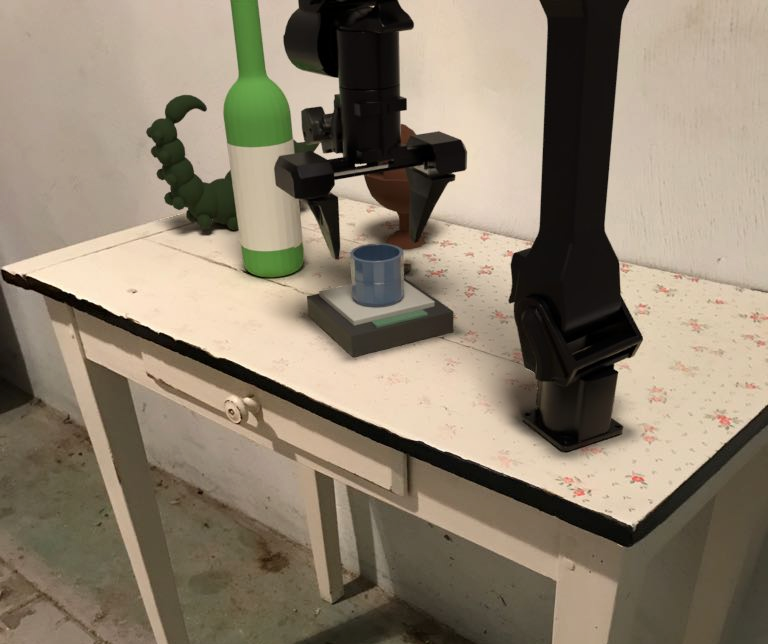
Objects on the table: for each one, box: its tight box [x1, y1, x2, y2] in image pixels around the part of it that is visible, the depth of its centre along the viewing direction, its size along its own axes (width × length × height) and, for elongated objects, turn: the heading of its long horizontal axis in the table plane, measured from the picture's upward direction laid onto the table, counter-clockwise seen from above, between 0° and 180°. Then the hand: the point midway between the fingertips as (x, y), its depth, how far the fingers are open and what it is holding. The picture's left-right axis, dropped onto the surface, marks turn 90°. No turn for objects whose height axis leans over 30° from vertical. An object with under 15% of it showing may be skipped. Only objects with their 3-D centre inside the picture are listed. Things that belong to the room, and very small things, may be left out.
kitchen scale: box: [306, 277, 455, 358], centre depth 90 cm, size 12×12×3 cm
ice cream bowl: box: [363, 123, 427, 250], centre depth 107 cm, size 11×11×15 cm
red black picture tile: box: [404, 260, 412, 274], centre depth 104 cm, size 5×5×1 cm
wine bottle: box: [222, 0, 305, 278], centre depth 96 cm, size 8×8×30 cm
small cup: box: [349, 242, 405, 307], centre depth 87 cm, size 6×6×5 cm
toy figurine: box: [145, 94, 321, 231], centre depth 116 cm, size 9×19×25 cm
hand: (375, 250), depth 86 cm, fingers open, 9 cm apart
